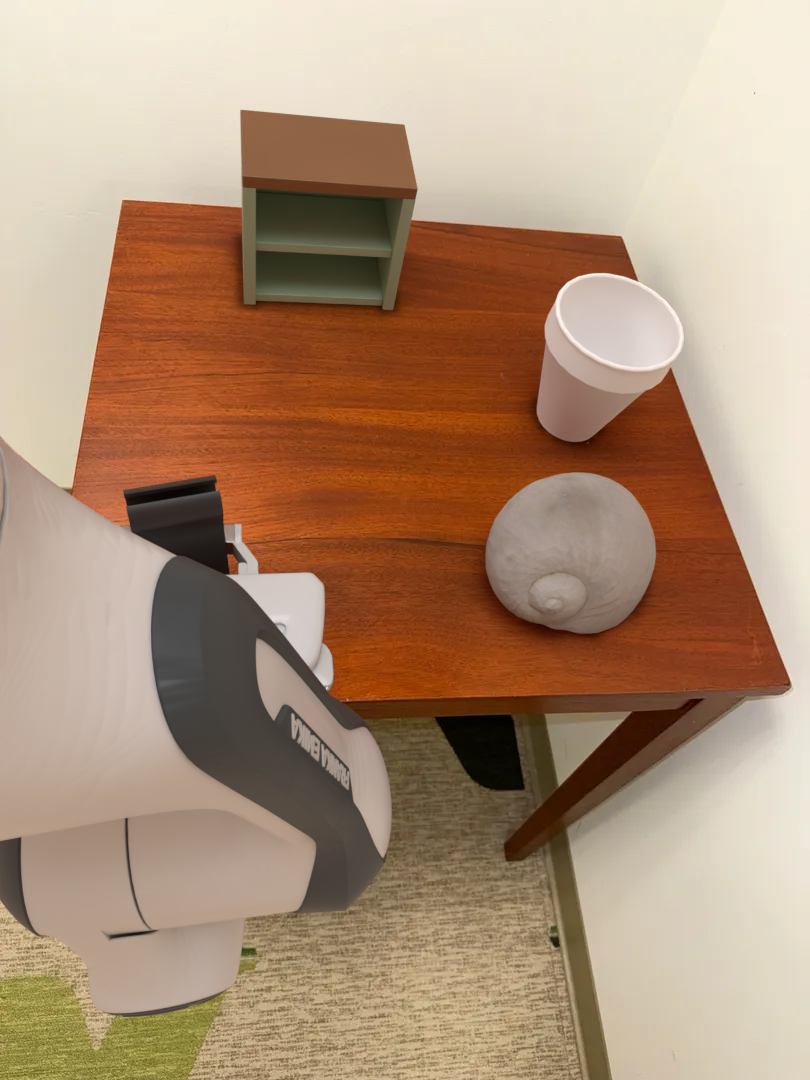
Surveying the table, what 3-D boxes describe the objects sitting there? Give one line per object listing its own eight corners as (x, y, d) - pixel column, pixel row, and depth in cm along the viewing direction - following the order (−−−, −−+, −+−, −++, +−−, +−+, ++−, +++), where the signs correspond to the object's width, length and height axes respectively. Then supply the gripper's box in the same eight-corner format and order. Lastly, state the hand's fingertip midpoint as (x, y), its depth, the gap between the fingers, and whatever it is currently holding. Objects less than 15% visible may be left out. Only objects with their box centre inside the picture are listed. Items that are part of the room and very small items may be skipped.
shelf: (244, 304, 81) (242, 175, 68) (242, 240, 85) (240, 109, 73) (393, 310, 84) (418, 188, 71) (383, 248, 89) (404, 124, 76)
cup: (620, 476, 77) (685, 386, 66) (504, 445, 77) (548, 348, 65) (626, 389, 84) (685, 292, 72) (518, 359, 83) (561, 257, 72)
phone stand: (235, 619, 59) (233, 542, 49) (154, 637, 57) (135, 560, 47) (211, 522, 63) (205, 432, 53) (135, 536, 61) (114, 444, 51)
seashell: (466, 581, 76) (462, 601, 61) (520, 450, 75) (529, 438, 60) (609, 641, 75) (640, 675, 60) (667, 509, 74) (713, 511, 59)
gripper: (341, 687, 48) (325, 503, 55) (-13, 709, 44) (16, 506, 51) (332, 718, 54) (318, 546, 60) (15, 740, 49) (38, 552, 56)
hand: (178, 528), depth 55 cm, fingers closed on phone stand, 6 cm apart
